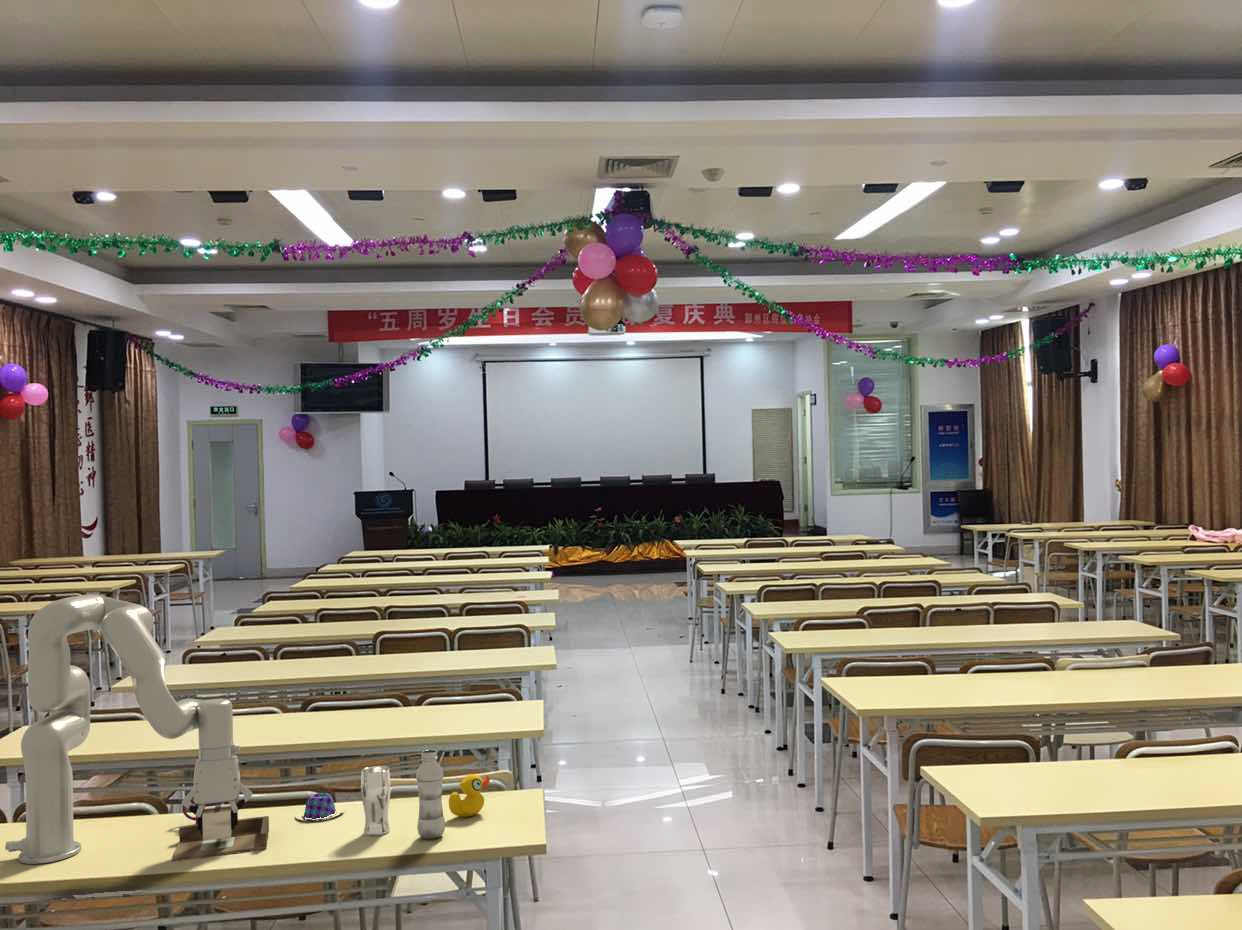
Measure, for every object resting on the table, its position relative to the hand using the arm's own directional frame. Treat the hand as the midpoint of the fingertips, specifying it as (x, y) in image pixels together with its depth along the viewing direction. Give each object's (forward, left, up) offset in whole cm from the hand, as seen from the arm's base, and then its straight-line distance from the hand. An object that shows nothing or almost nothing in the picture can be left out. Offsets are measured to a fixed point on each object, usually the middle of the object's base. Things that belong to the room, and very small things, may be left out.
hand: (218, 829), depth 232 cm
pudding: (+23, +16, -4) cm, 28 cm away
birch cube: (0, 0, -1) cm, 1 cm away
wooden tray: (+1, +1, -4) cm, 4 cm away
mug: (-5, +21, -4) cm, 22 cm away
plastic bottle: (+48, -13, -4) cm, 50 cm away
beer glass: (+36, -4, -4) cm, 36 cm away
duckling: (+59, 0, -4) cm, 59 cm away
